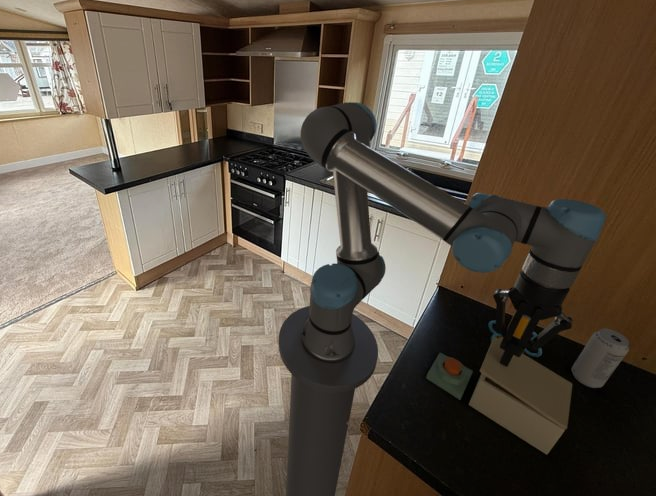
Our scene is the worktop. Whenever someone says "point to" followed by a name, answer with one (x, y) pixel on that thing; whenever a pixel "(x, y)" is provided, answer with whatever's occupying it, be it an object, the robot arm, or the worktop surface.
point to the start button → (452, 366)
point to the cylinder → (517, 333)
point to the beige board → (530, 383)
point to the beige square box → (515, 415)
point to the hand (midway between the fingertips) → (504, 361)
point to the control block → (449, 377)
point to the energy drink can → (600, 358)
